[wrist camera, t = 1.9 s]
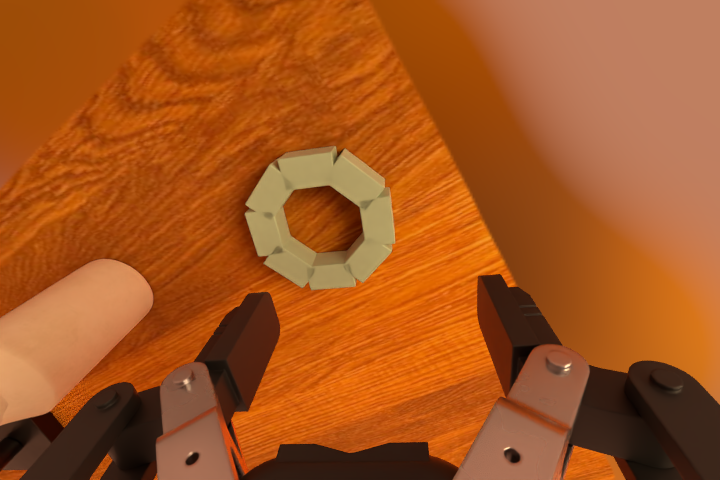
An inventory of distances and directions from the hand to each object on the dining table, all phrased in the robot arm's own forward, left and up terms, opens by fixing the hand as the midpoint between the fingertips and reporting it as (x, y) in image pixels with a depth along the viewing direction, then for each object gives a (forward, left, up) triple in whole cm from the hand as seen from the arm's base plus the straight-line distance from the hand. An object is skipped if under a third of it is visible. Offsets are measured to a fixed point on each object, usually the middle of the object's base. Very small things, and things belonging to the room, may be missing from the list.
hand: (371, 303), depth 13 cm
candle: (+4, -20, -9) cm, 23 cm away
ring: (0, -3, -9) cm, 10 cm away
